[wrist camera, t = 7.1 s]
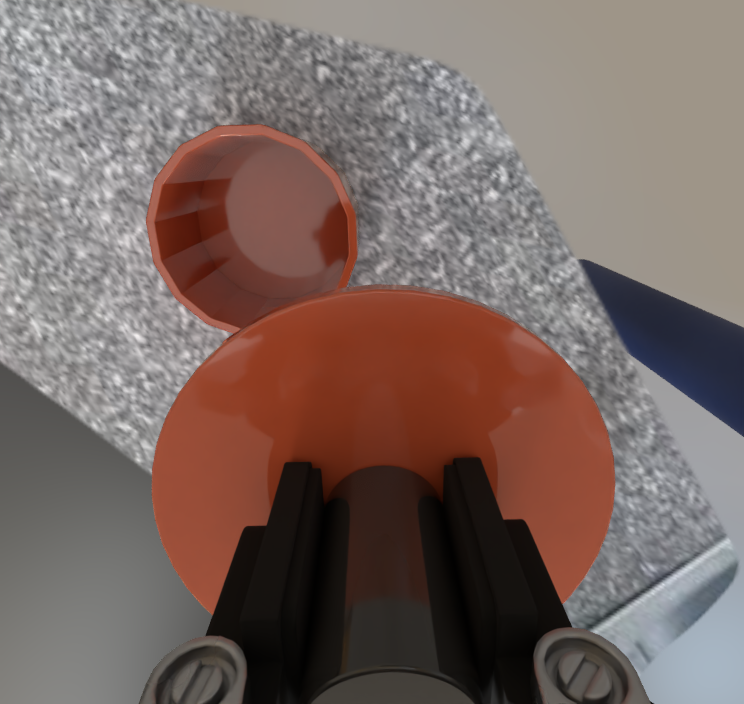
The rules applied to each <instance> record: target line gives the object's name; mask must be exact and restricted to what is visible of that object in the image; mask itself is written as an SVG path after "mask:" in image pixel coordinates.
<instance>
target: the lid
mask: <svg viewBox="0 0 744 704" xmlns="http://www.w3.org/2000/svg"><path fill="white" fill-rule="evenodd" d="M466 457H479V458H480V459H481V461H482V463H483V466H484V469H485V472H486V474H487V477H488V480H489V482H490V485H491V488H492V490H493V493H494V496H495V498H496V501H497V504H498V506H499V509H500V512H501V514H502V517H503V519H523V520H524V521H526V523H527V525H528V527H529V529H530V532H531V534H532V536H533V538H534V541H535V543H536V545H537V548H538V550H539V552H540V554H541V557H542V559H543V561H544V564H545V566H546V568H547V571H548V573H549V575H550V577H551V580H552V582H553V584H554V587H555V589H556V591H557V593H558V596H559V598H560V600H561V603H562V604H563V603H564V602H565V601H566V600H567V599H568V598H569V597H570V596H571V595H572V593H573V592H574V591H575V590H576V588H577V587H578V586H579V584H580V583H581V582H582V581H583V579H584V578H585V576H586V575H587V573H588V571H589V570H590V568H591V566H592V565H593V563H594V561H595V559H596V558H597V556H598V554H599V551H600V549H601V546H602V544H603V542H604V539H605V537H606V534H607V531H608V527H609V523H610V519H611V515H612V511H613V504H614V493H615V470H614V456H613V452H612V448H611V443H610V439H609V435H608V430H607V428H606V426H605V423H604V421H603V418H602V416H601V413H600V411H599V409H598V406H597V404H596V403H595V401H594V399H593V398H592V396H591V394H590V393H589V391H588V390H587V388H586V386H585V385H584V383H583V381H582V380H581V379H580V378H579V376H578V375H577V374H576V373H575V372H574V371H573V369H572V368H571V367H570V366H569V365H568V364H567V362H566V361H565V360H564V359H563V358H562V357H561V356H560V355H559V354H558V353H557V352H556V351H555V350H554V349H553V348H552V347H551V346H549V345H548V344H547V343H546V342H545V341H544V340H542V339H541V338H540V337H539V336H538V335H537V334H536V333H534V332H533V331H532V330H530V329H529V328H527V327H525V326H524V325H522V324H521V323H519V322H518V321H516V320H515V319H513V318H511V317H510V316H508V315H507V314H505V313H502V312H500V311H498V310H496V309H494V308H492V307H489V306H487V305H485V304H483V303H481V302H479V301H476V300H473V299H469V298H466V297H463V296H460V295H456V294H453V293H450V292H446V291H441V290H435V289H429V288H423V287H417V286H410V285H381V284H376V285H365V286H355V287H344V288H339V289H335V290H330V291H326V292H322V293H317V294H313V295H309V296H306V297H304V298H301V299H298V300H296V301H293V302H290V303H287V304H285V305H282V306H279V307H277V308H275V309H274V310H272V311H270V312H268V313H266V314H264V315H262V316H260V317H259V318H257V319H255V320H253V321H251V322H249V323H248V324H247V325H245V326H244V327H243V328H241V329H240V330H238V331H237V332H236V333H234V334H233V335H232V336H230V337H229V338H227V339H226V340H225V341H224V342H223V343H222V344H221V345H220V346H219V347H218V348H217V349H215V350H214V351H213V352H212V353H211V354H210V355H209V356H208V357H207V358H206V359H205V360H204V361H203V362H202V364H201V365H200V366H199V367H198V368H197V370H196V371H195V372H194V373H193V375H192V376H191V377H190V379H189V380H188V381H187V383H186V384H185V385H184V387H183V388H182V389H181V391H180V392H179V394H178V396H177V397H176V399H175V401H174V403H173V405H172V407H171V408H170V410H169V412H168V414H167V416H166V418H165V421H164V424H163V427H162V430H161V432H160V435H159V438H158V441H157V445H156V450H155V456H154V462H153V467H152V500H153V507H154V514H155V521H156V524H157V528H158V531H159V534H160V537H161V541H162V544H163V546H164V548H165V550H166V552H167V555H168V557H169V559H170V561H171V563H172V565H173V567H174V569H175V570H176V572H177V573H178V575H179V576H180V578H181V579H182V581H183V582H184V584H185V585H186V587H187V588H188V589H189V591H190V592H191V593H192V594H193V595H194V596H195V598H196V599H197V600H198V601H199V602H200V604H201V605H202V606H203V607H204V608H205V609H206V610H208V611H209V612H210V613H211V614H212V615H213V613H214V610H215V607H216V605H217V602H218V599H219V596H220V593H221V590H222V588H223V585H224V582H225V579H226V576H227V573H228V570H229V568H230V565H231V562H232V559H233V556H234V553H235V550H236V548H237V545H238V542H239V539H240V536H241V533H242V531H243V529H244V528H245V527H246V526H263V525H267V522H268V519H269V515H270V512H271V508H272V505H273V501H274V498H275V494H276V491H277V487H278V484H279V481H280V477H281V474H282V470H283V467H284V464H285V463H286V462H311V464H312V468H321V473H322V486H323V499H324V513H323V521H322V528H321V536H320V543H319V551H318V558H317V565H316V573H315V580H314V588H313V595H312V603H311V610H310V617H309V625H308V632H307V640H306V647H305V655H304V662H303V669H302V677H301V683H300V690H299V697H298V704H485V702H484V698H483V693H482V688H481V683H480V679H479V674H478V669H477V665H476V660H475V655H474V651H473V646H472V641H471V637H470V632H469V627H468V622H467V618H466V613H465V608H464V604H463V599H462V594H461V590H460V585H459V580H458V575H457V571H456V566H455V561H454V557H453V552H452V547H451V543H450V538H449V533H448V528H447V524H446V519H445V514H444V510H443V476H444V465H453V459H454V458H466Z"/></svg>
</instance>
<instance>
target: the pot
mask: <svg viewBox="0 0 744 704" xmlns="http://www.w3.org/2000/svg"><path fill="white" fill-rule="evenodd" d="M146 225H147V230H148V236H149V241H150V246H151V252H152V257H153V262H154V264H155V266H156V267H157V269H158V271H159V272H160V274H161V276H162V277H163V279H164V281H165V282H166V284H167V286H168V287H169V289H170V291H171V292H172V294H173V295H174V297H175V298H176V299H177V300H178V301H179V302H180V303H182V304H183V305H184V306H185V307H186V308H188V309H189V310H190V311H191V312H193V313H194V314H195V315H196V316H198V317H199V318H200V319H201V320H203V321H204V322H205V323H206V324H208V325H211V326H214V327H217V328H219V329H222V330H225V331H228V332H231V333H236V332H237V331H238V330H240V329H241V328H243V327H244V326H245V325H247V324H248V323H249V322H251V321H253V320H255V319H257V318H259V317H260V316H262V315H264V314H266V313H268V312H270V311H272V310H274V309H275V308H277V307H279V306H282V305H285V304H287V303H290V302H293V301H296V300H298V299H301V298H304V297H306V296H309V295H313V294H317V293H322V292H326V291H330V290H335V289H339V288H344V287H347V284H348V281H349V278H350V276H351V273H352V270H353V268H354V265H355V262H356V259H357V256H358V247H359V238H360V235H359V209H358V202H357V200H356V198H355V195H354V193H353V190H352V188H351V186H350V184H349V182H348V180H347V177H346V175H345V173H344V171H343V170H342V169H341V168H340V167H339V166H338V165H337V164H336V163H335V162H334V161H333V160H332V159H331V158H330V157H329V156H328V155H327V154H326V153H325V152H324V151H323V150H322V149H320V148H319V147H318V146H317V145H314V144H312V143H309V142H307V141H304V140H302V139H299V138H297V137H294V136H292V135H289V134H287V133H284V132H282V131H279V130H277V129H274V128H271V127H269V126H266V125H262V124H252V125H221V126H216V127H215V128H213V129H211V130H209V131H207V132H205V133H203V134H201V135H199V136H197V137H195V138H193V139H191V140H189V141H187V142H186V143H184V144H182V145H180V146H179V147H178V149H177V150H176V151H175V153H174V154H173V155H172V157H171V158H170V159H169V161H168V162H167V163H166V165H165V166H164V167H163V169H162V170H161V171H160V173H159V174H158V175H157V177H156V178H155V180H154V185H153V189H152V194H151V199H150V203H149V208H148V213H147V217H146Z"/></svg>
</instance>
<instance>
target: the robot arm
mask: <svg viewBox="0 0 744 704" xmlns="http://www.w3.org/2000/svg"><path fill="white" fill-rule="evenodd" d="M443 510H444V514H445V519H446V524H447V528H448V533H449V538H450V543H451V547H452V552H453V557H454V561H455V566H456V571H457V575H458V580H459V585H460V590H461V594H462V599H463V604H464V608H465V613H466V618H467V622H468V627H469V632H470V637H471V641H472V646H473V651H474V655H475V660H476V665H477V669H478V674H479V679H480V683H481V688H482V693H483V698H484V702H485V704H654V703H652V702H651V701H650V700H649V698H648V696H647V694H646V692H645V689H644V687H643V685H642V683H641V681H640V678H639V676H638V674H637V672H636V670H635V669H634V667H633V666H632V664H631V662H630V661H629V659H628V658H627V657H626V656H625V655H624V654H623V653H622V652H621V651H620V650H619V649H618V648H617V647H616V646H615V645H614V644H612V643H611V642H609V641H608V640H606V639H605V638H603V637H602V636H600V635H597V634H595V633H592V632H590V631H587V630H584V629H578V628H572V626H571V623H570V621H569V619H568V616H567V614H566V612H565V610H564V607H563V605H562V603H561V600H560V598H559V596H558V593H557V591H556V589H555V587H554V584H553V582H552V580H551V577H550V575H549V573H548V571H547V568H546V566H545V564H544V561H543V559H542V557H541V554H540V552H539V550H538V548H537V545H536V543H535V541H534V538H533V536H532V534H531V532H530V529H529V527H528V525H527V523H526V521H524V520H523V519H503V517H502V514H501V512H500V509H499V506H498V504H497V501H496V498H495V496H494V493H493V490H492V488H491V485H490V482H489V480H488V477H487V474H486V472H485V469H484V466H483V463H482V461H481V459H480V458H479V457H466V458H454V459H453V465H444V476H443ZM323 513H324V499H323V486H322V473H321V468H312V464H311V462H286V463H285V464H284V467H283V470H282V474H281V477H280V481H279V484H278V487H277V491H276V494H275V498H274V501H273V505H272V508H271V512H270V515H269V519H268V522H267V525H263V526H246V527H245V528H244V529H243V531H242V533H241V536H240V539H239V542H238V545H237V548H236V550H235V553H234V556H233V559H232V562H231V565H230V568H229V570H228V573H227V576H226V579H225V582H224V585H223V588H222V590H221V593H220V596H219V599H218V602H217V605H216V607H215V610H214V613H213V616H212V619H211V622H210V625H209V627H208V630H207V633H206V636H205V637H200V638H195V639H192V640H190V641H188V642H186V643H183V644H182V645H179V646H178V647H176V648H175V649H174V650H172V651H171V652H170V653H169V654H167V655H166V656H165V657H164V658H163V659H162V660H161V661H160V662H159V663H158V665H157V666H156V667H155V668H154V669H153V671H152V673H151V675H150V677H149V679H148V681H147V683H146V685H145V688H144V691H143V693H142V696H141V699H140V702H139V704H298V697H299V690H300V683H301V677H302V669H303V662H304V655H305V647H306V640H307V632H308V625H309V617H310V610H311V603H312V595H313V588H314V580H315V573H316V565H317V558H318V551H319V543H320V536H321V528H322V521H323Z"/></svg>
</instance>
